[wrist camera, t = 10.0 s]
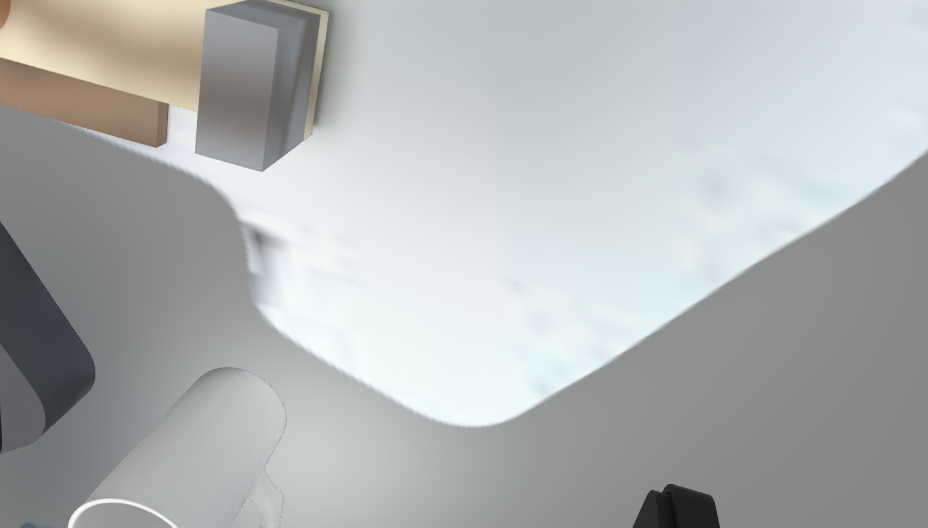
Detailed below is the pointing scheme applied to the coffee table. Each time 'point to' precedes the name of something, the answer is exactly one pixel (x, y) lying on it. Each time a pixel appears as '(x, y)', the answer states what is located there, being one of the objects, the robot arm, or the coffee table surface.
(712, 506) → the robot arm
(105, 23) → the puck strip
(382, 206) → the coffee table surface
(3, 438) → the streaming box
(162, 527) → the mug
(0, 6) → the puck
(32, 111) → the lane board
